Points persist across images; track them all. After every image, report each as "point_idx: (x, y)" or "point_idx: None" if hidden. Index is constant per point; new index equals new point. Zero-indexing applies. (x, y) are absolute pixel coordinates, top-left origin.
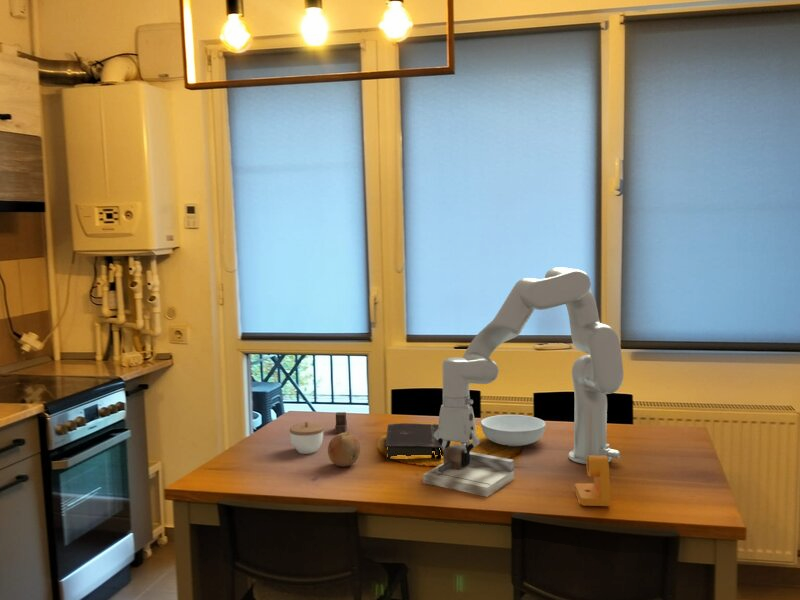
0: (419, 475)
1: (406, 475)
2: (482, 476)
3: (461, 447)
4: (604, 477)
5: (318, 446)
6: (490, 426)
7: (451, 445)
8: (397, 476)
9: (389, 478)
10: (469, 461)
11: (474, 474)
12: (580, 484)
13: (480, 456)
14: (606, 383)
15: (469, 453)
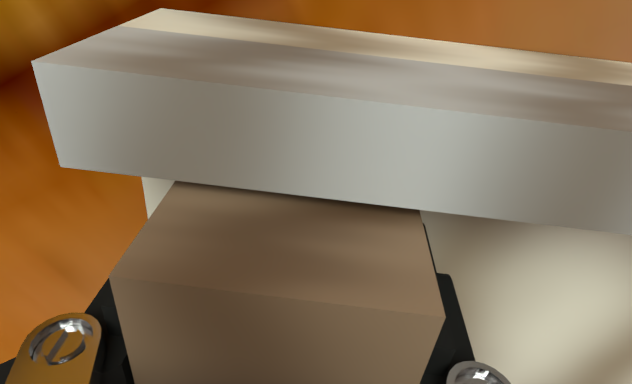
0: (94, 284)
1: (33, 306)
2: (590, 355)
3: (327, 374)
4: None
5: None
6: None
7: (129, 345)
8: (9, 331)
9: (5, 360)
10: (447, 275)
11: (516, 340)
12: None
13: (608, 231)
14: None
15: (472, 359)
